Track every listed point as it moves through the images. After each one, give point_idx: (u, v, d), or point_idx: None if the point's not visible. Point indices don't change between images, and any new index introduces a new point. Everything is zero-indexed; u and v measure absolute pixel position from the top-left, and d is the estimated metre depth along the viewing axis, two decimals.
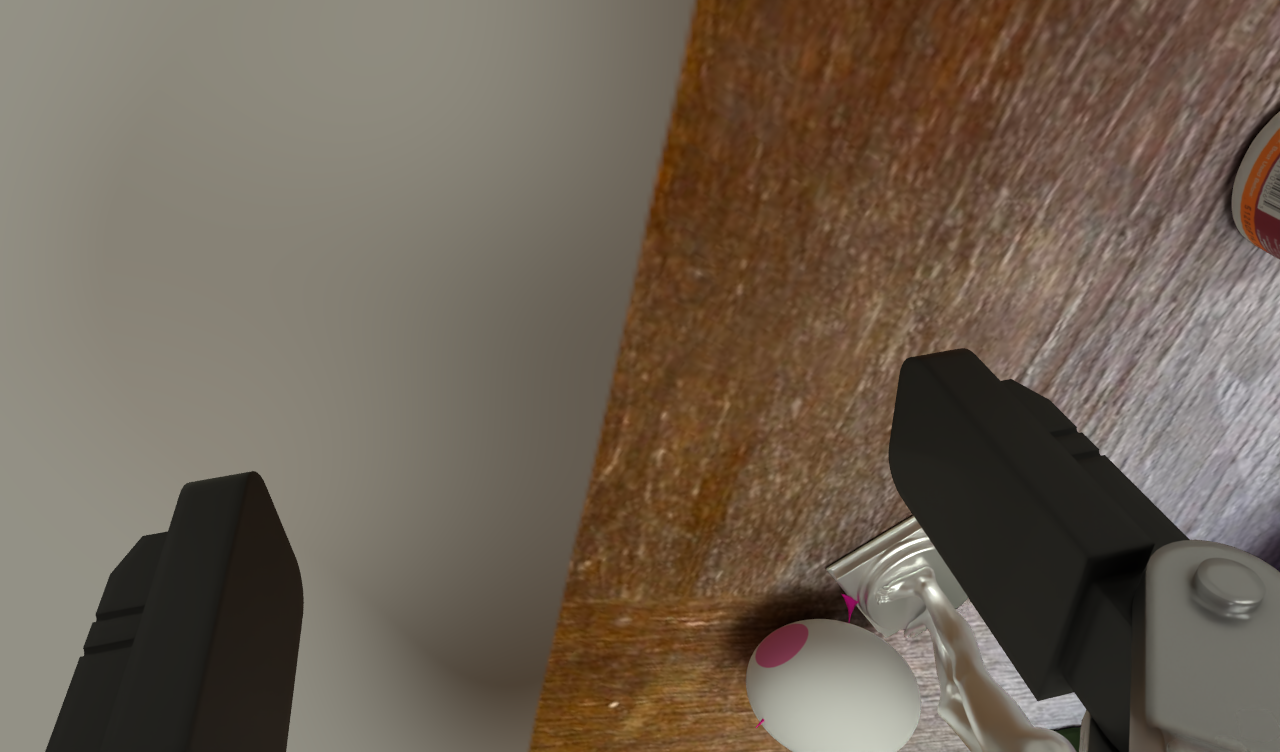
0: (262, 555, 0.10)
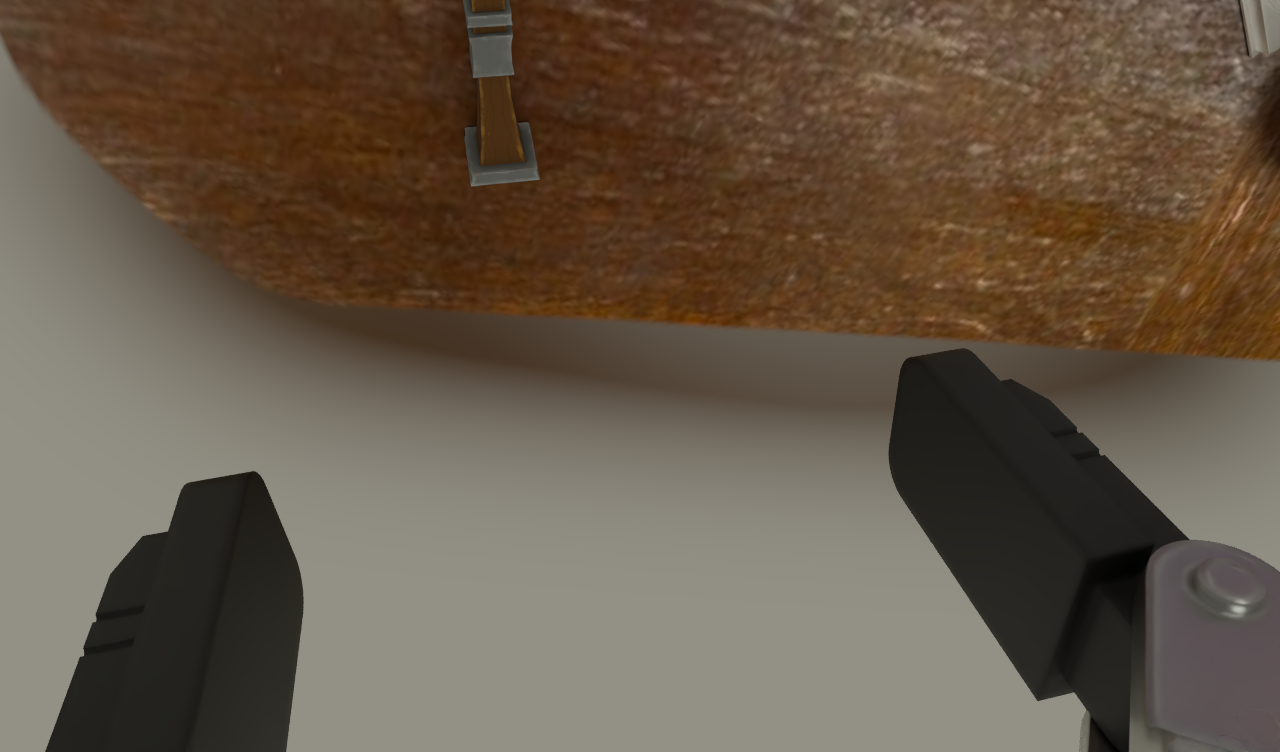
0: (262, 555, 0.10)
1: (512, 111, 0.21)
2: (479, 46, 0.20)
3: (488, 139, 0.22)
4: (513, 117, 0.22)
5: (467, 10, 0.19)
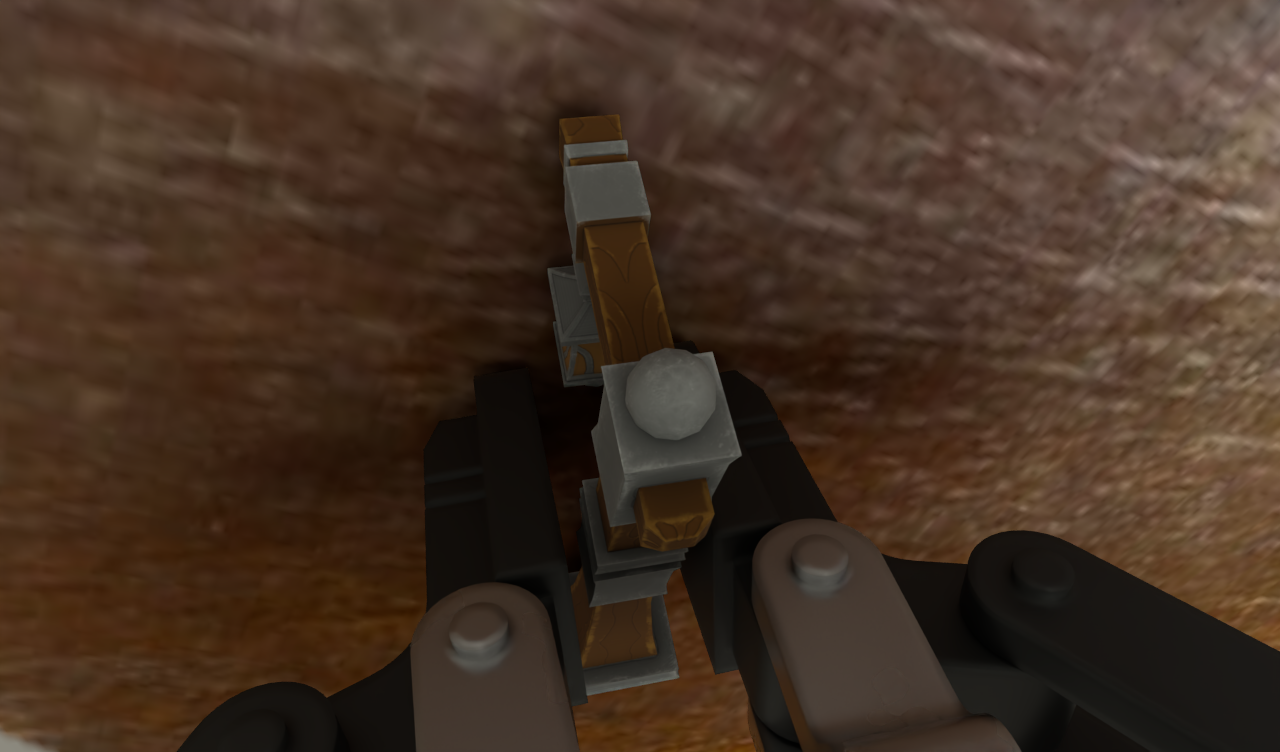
0: None
1: (648, 616, 0.12)
2: (611, 582, 0.10)
3: (598, 644, 0.12)
4: (648, 620, 0.12)
5: (596, 545, 0.09)
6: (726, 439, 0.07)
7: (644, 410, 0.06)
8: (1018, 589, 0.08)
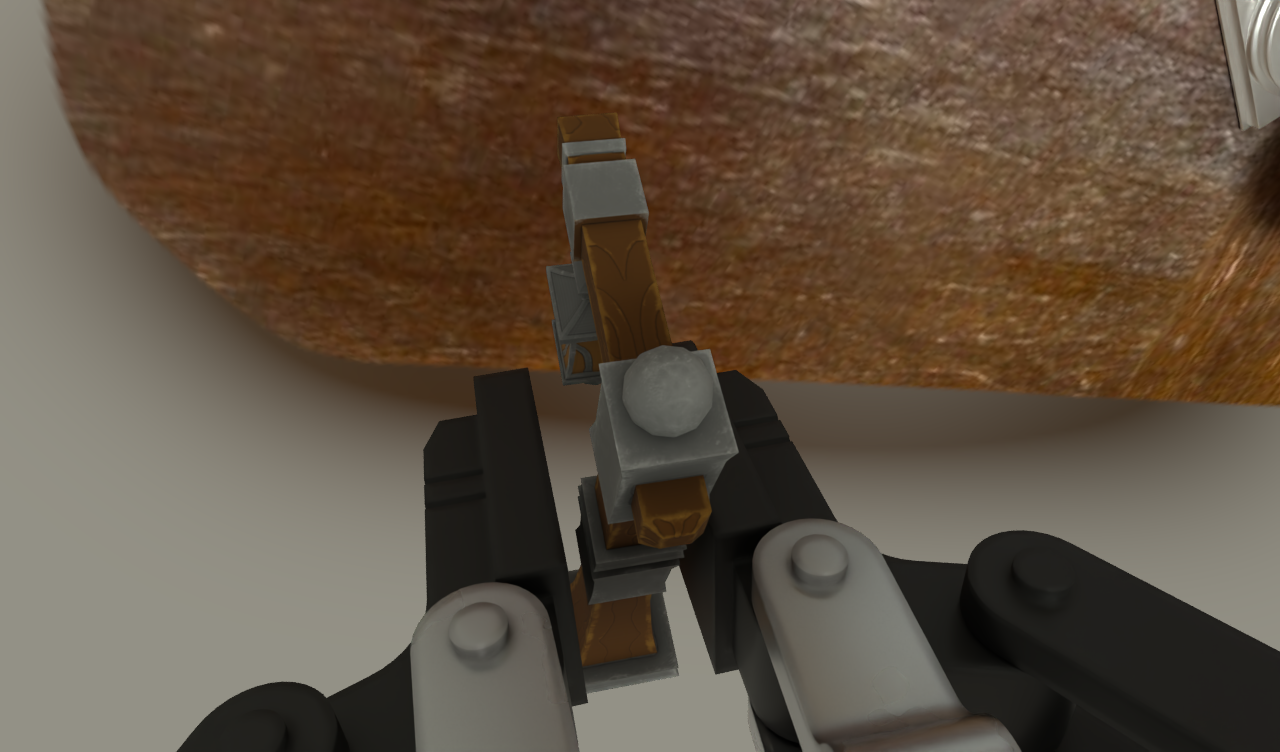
0: None
1: (648, 614, 0.12)
2: (610, 579, 0.10)
3: (597, 642, 0.12)
4: (648, 618, 0.12)
5: (595, 542, 0.09)
6: (723, 435, 0.07)
7: (641, 407, 0.07)
8: (1018, 589, 0.08)
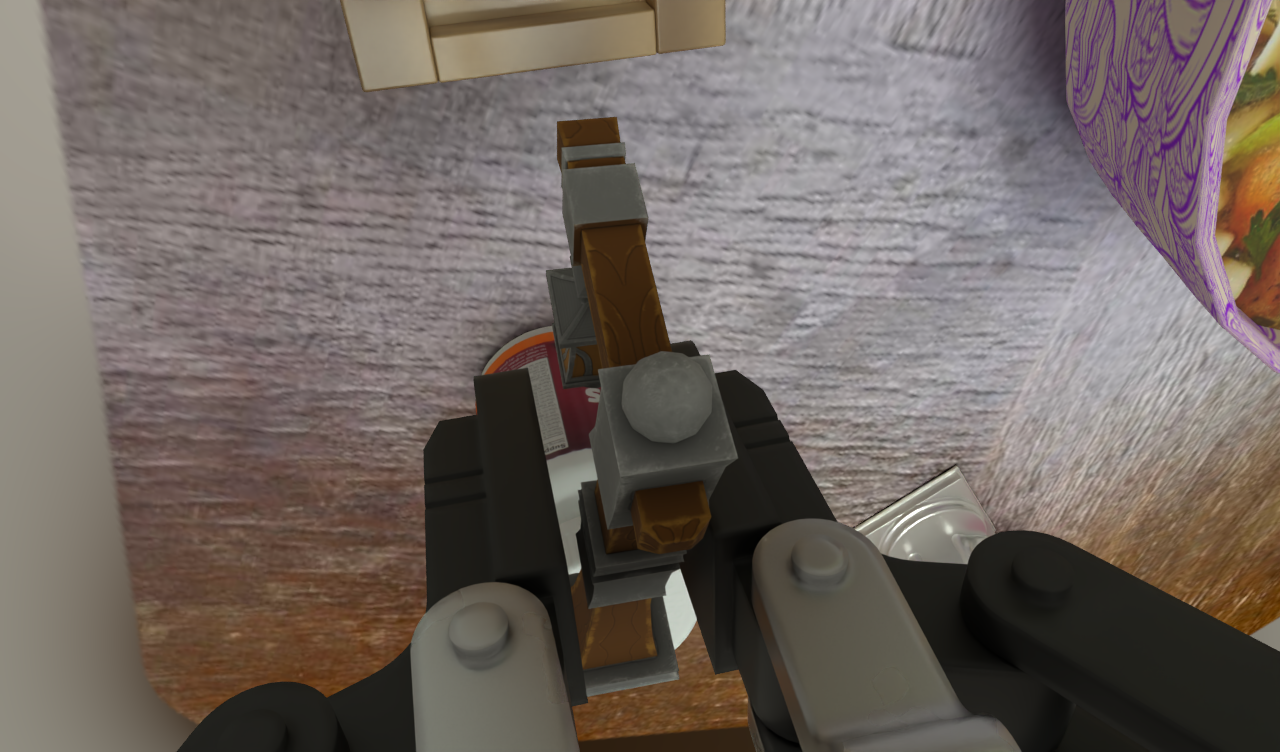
0: None
1: (648, 617, 0.12)
2: (609, 583, 0.10)
3: (598, 645, 0.12)
4: (648, 621, 0.12)
5: (595, 546, 0.09)
6: (722, 440, 0.07)
7: (640, 413, 0.07)
8: (1018, 589, 0.08)
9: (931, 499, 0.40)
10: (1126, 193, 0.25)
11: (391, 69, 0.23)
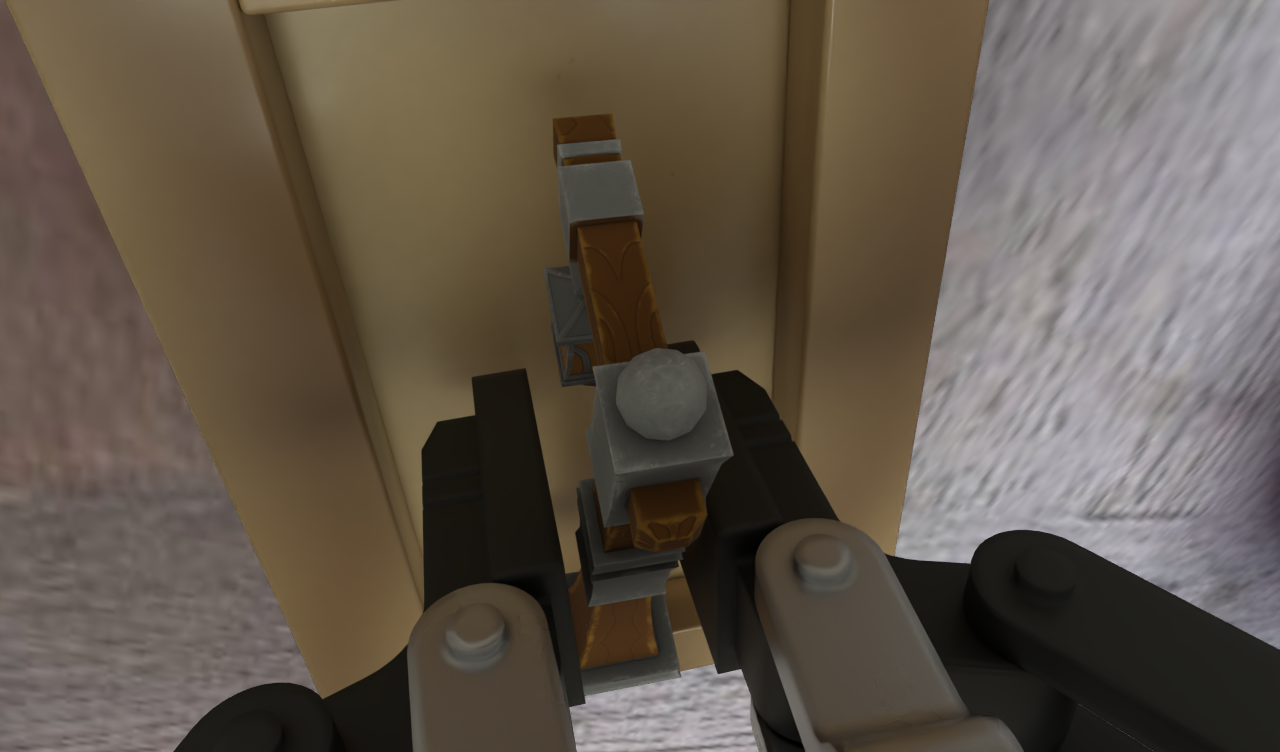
0: None
1: (648, 616, 0.12)
2: (608, 582, 0.10)
3: (598, 644, 0.12)
4: (648, 620, 0.12)
5: (593, 545, 0.09)
6: (718, 438, 0.07)
7: (634, 411, 0.06)
8: (1021, 589, 0.08)
9: None
10: None
11: None
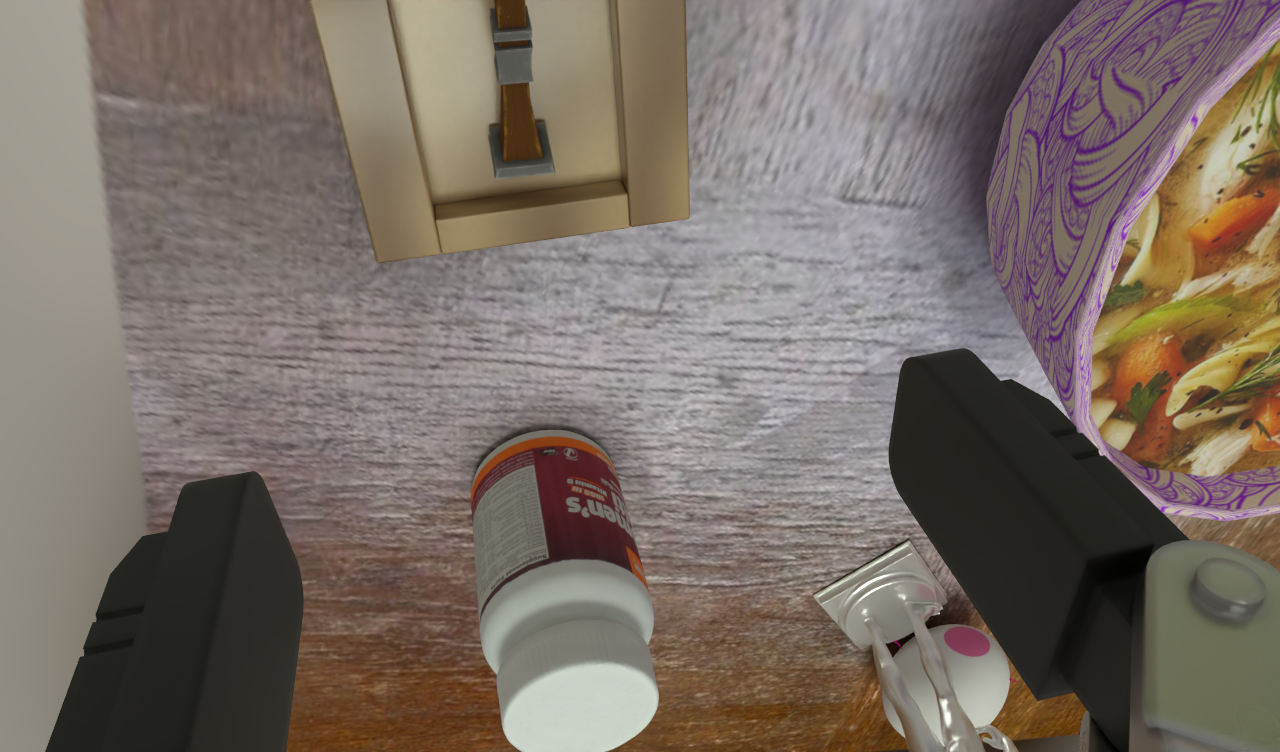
0: (263, 555, 0.10)
1: (531, 113, 0.24)
2: (503, 58, 0.23)
3: (510, 137, 0.25)
4: (532, 118, 0.25)
5: (493, 27, 0.22)
6: None
7: None
8: None
9: (885, 570, 0.44)
10: None
11: (401, 245, 0.27)
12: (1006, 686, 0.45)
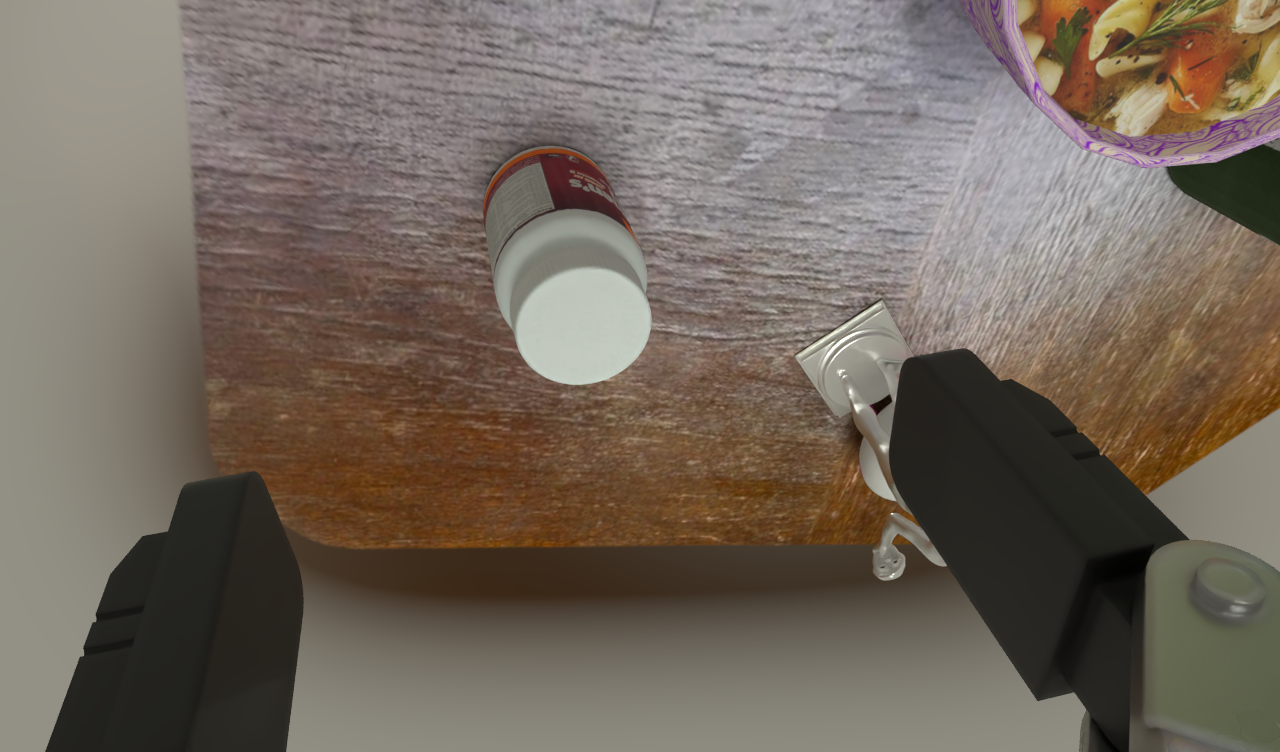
0: (262, 555, 0.10)
1: None
2: None
3: None
4: None
5: None
6: None
7: None
8: None
9: (860, 327, 0.49)
10: (977, 18, 0.33)
11: None
12: None
